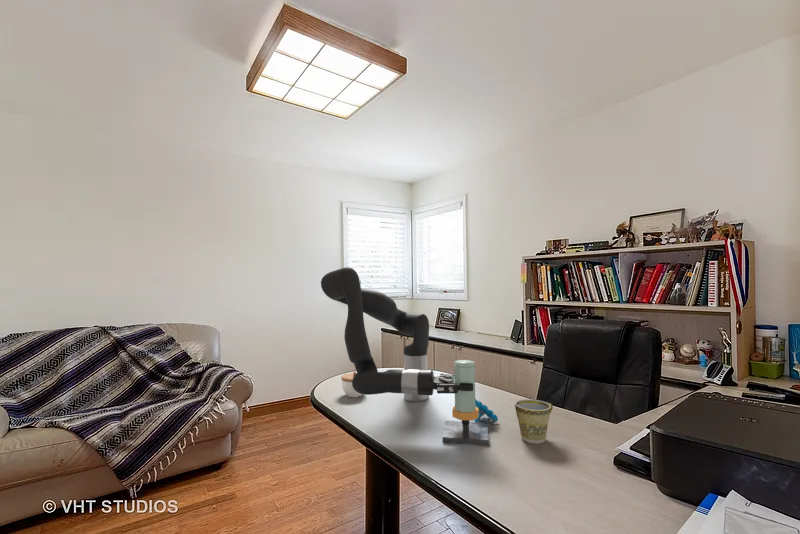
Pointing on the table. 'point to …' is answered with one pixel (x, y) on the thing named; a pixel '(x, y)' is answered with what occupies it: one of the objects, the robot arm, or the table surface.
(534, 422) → the ceramic cup
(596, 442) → the table surface
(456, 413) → the collar
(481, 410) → the blue toy dinosaur
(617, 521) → the table surface
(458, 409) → the pale green canister
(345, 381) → the lidded jar
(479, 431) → the post stand
